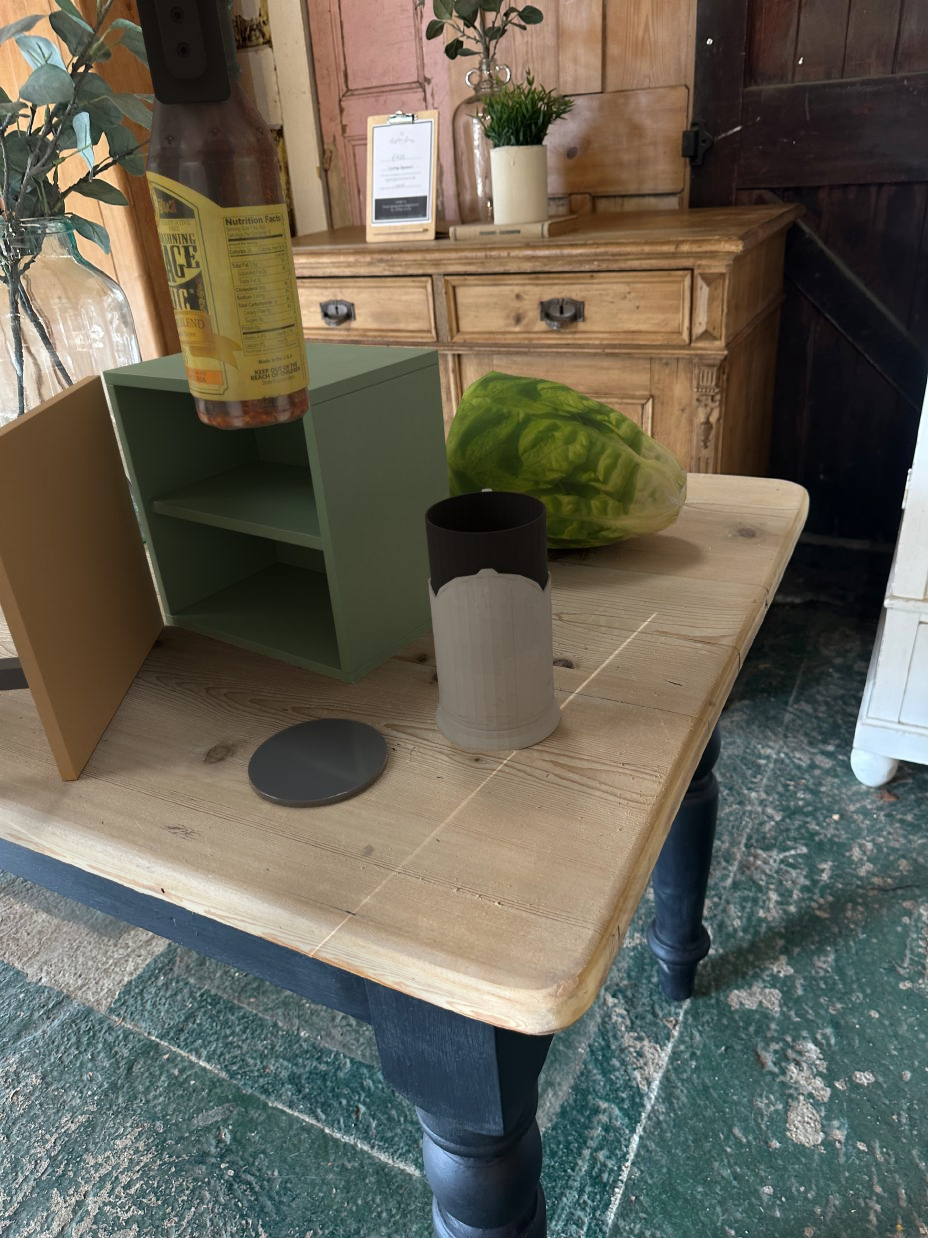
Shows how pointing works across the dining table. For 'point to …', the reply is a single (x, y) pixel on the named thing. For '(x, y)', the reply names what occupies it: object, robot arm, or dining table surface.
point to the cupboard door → (72, 570)
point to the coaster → (317, 763)
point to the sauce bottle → (229, 255)
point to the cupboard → (293, 507)
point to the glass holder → (492, 620)
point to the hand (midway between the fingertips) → (199, 101)
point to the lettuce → (564, 460)
